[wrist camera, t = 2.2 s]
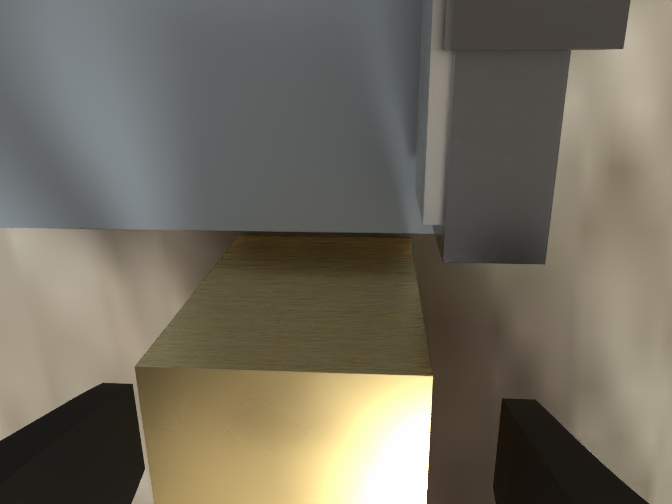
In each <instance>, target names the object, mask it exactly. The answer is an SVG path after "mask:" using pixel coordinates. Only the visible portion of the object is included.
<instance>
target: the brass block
mask: <svg viewBox="0 0 672 504" xmlns="http://www.w3.org/2000/svg"><path fill="white" fill-rule="evenodd" d="M135 372H136V379H137V386H138V393H139V400H140V407H141V414H142V421H143V428H144V435H145V442H146V449H147V456H148V463H149V470H150V477H151V484H152V491H153V498H154V504H426V495H427V477H428V458H429V440H430V422H431V404H432V385H433V373H432V367H431V361H430V355H429V349H428V343H427V337H426V331H425V325H424V319H423V313H422V306H421V300H420V294H419V288H418V282H417V276H416V270H415V264H414V258H413V252H412V246H411V240H410V238H362V237H295V236H239V237H238V238H237V239H236V241H235V242H234V243H233V244H232V246H231V247H230V248H229V249H228V251H227V252H226V253H225V254H224V256H223V257H222V258H221V259H220V261H219V262H218V263H217V264H216V266H215V267H214V268H213V269H212V271H211V272H210V273H209V274H208V276H207V277H206V278H205V279H204V281H203V282H202V283H201V284H200V286H199V287H198V288H197V289H196V291H195V292H194V293H193V294H192V296H191V297H190V298H189V299H188V301H187V302H186V303H185V304H184V306H183V307H182V308H181V309H180V311H179V312H178V313H177V314H176V316H175V317H174V318H173V319H172V321H171V322H170V323H169V324H168V326H167V327H166V328H165V329H164V331H163V332H162V333H161V334H160V336H159V337H158V338H157V339H156V341H155V342H154V343H153V344H152V346H151V347H150V348H149V349H148V351H147V352H146V353H145V354H144V356H143V357H142V358H141V359H140V361H139V362H138V363H137V364H136V366H135Z"/></svg>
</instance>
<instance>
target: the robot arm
mask: <svg viewBox="0 0 672 504" xmlns="http://www.w3.org/2000/svg"><path fill="white" fill-rule="evenodd" d="M144 470H145V465H144V458H143V452H142V445H141V438H140V431H139V424H138V418H137V411H136V404H135V397H134V390H133V384H117V383H102V384H100V385H98V386H96V387H94V388H92V389H90V390H88V391H86V392H84V393H82V394H81V395H79V396H77V397H75V398H73V399H72V400H70V401H68V402H67V403H65V404H63V405H61V406H60V407H58V408H56V409H55V410H53V411H51V412H49V413H48V414H46V415H44V416H43V417H41V418H39V419H37V420H36V421H34V422H32V423H31V424H29V425H27V426H25V427H24V428H22V429H20V430H18V431H17V432H15V433H13V434H12V435H10V436H8V437H6V438H5V439H3V440H1V441H0V504H131V503H132V500H133V498H134V496H135V493H136V491H137V488H138V486H139V483H140V480H141V478H142V475H143V473H144ZM493 489H494V495H495V502H496V504H649V503H648V502H646V501H645V500H644V499H643V498H642V497H640V496H639V495H638V494H637V493H635V492H634V491H633V490H632V489H631V488H629V487H628V486H627V485H626V484H625V483H624V482H623V481H621V480H620V479H619V478H618V477H617V476H616V475H614V474H613V473H612V472H611V471H610V470H609V469H608V468H607V467H606V466H604V465H603V464H602V463H601V462H600V461H599V460H598V459H597V458H596V457H595V456H594V455H592V454H591V453H590V452H589V451H588V450H587V449H586V448H585V447H584V446H583V445H582V444H581V443H580V442H579V441H578V440H577V439H576V438H575V437H574V436H573V435H571V434H570V433H569V432H568V431H567V430H566V429H565V428H564V427H563V426H562V425H561V424H560V423H559V422H558V421H557V420H556V419H555V418H554V417H553V416H552V415H551V414H550V413H549V412H548V411H547V410H546V409H545V408H544V407H543V406H542V405H541V404H540V403H538V402H537V401H536V400H530V399H504V398H502V405H501V414H500V424H499V434H498V444H497V453H496V463H495V473H494V483H493Z"/></svg>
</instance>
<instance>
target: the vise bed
mask: <svg viewBox="0 0 672 504" xmlns="http://www.w3.org/2000/svg"><path fill="white" fill-rule="evenodd" d="M421 22H422V0H0V228H67V229H138V230H208V231H278V232H349V233H419V234H434V231H433V227H432V225H423V222H422V218H421V214H420V210H419V206H418V202H417V198H416V194H415V180H416V154H417V127H418V101H419V75H420V49H421Z"/></svg>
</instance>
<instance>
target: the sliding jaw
mask: <svg viewBox="0 0 672 504" xmlns="http://www.w3.org/2000/svg"><path fill="white" fill-rule="evenodd" d="M629 6H630V0H422V22H421V49H420V75H419V101H418V127H417V154H416V180H415V194H416V198H417V202H418V206H419V210H420V214H421V218H422V222H423V225H432V227H433V231H434V234H435V237H436V240H437V244H438V247H439V250H440V254H441V257H442V260H443V262H447V263H503V264H545V260H546V252H547V244H548V236H549V227H550V219H551V211H552V202H553V194H554V186H555V177H556V169H557V161H558V153H559V144H560V136H561V128H562V119H563V111H564V103H565V94H566V86H567V78H568V70H569V61H570V53H571V50H606V49H623V47H624V40H625V33H626V27H627V20H628V13H629Z"/></svg>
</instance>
